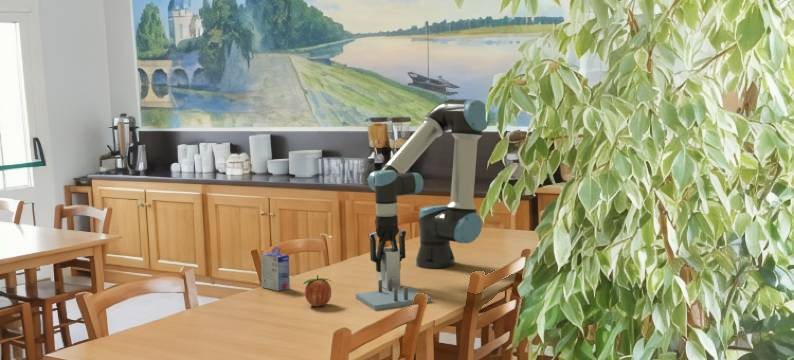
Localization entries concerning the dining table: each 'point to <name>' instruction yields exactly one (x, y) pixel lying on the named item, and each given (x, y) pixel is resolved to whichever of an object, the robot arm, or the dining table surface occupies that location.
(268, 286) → the ink cartridge box
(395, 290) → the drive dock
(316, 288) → the fruit
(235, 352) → the dining table surface
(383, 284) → the grey tall block
